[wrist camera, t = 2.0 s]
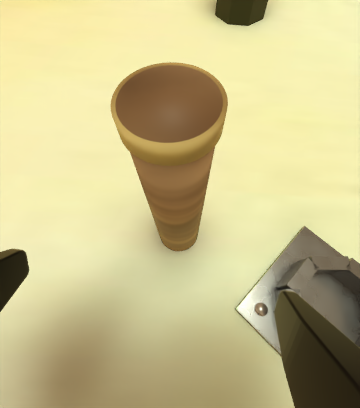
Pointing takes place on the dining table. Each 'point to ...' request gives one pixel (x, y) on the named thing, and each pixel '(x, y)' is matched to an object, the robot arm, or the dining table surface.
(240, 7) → the wine bottle
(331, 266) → the cup bracket
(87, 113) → the dining table surface
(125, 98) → the tall ribbed vase
